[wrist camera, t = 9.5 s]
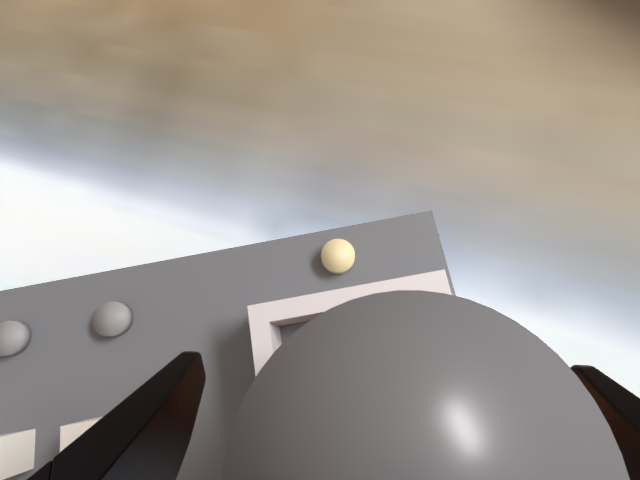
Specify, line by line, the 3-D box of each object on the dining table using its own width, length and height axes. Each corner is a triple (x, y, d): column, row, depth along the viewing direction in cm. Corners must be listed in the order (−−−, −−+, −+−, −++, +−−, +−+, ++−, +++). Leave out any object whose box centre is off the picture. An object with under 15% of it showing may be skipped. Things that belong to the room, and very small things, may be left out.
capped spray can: (349, 471, 16) (372, 898, 3) (291, 372, 17) (153, 425, 5) (438, 406, 16) (739, 574, 4) (375, 315, 18) (453, 225, 5)
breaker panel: (-43, 571, 17) (-146, 630, 13) (-19, 301, 20) (-95, 290, 17) (497, 474, 17) (538, 507, 13) (426, 218, 20) (444, 189, 17)
